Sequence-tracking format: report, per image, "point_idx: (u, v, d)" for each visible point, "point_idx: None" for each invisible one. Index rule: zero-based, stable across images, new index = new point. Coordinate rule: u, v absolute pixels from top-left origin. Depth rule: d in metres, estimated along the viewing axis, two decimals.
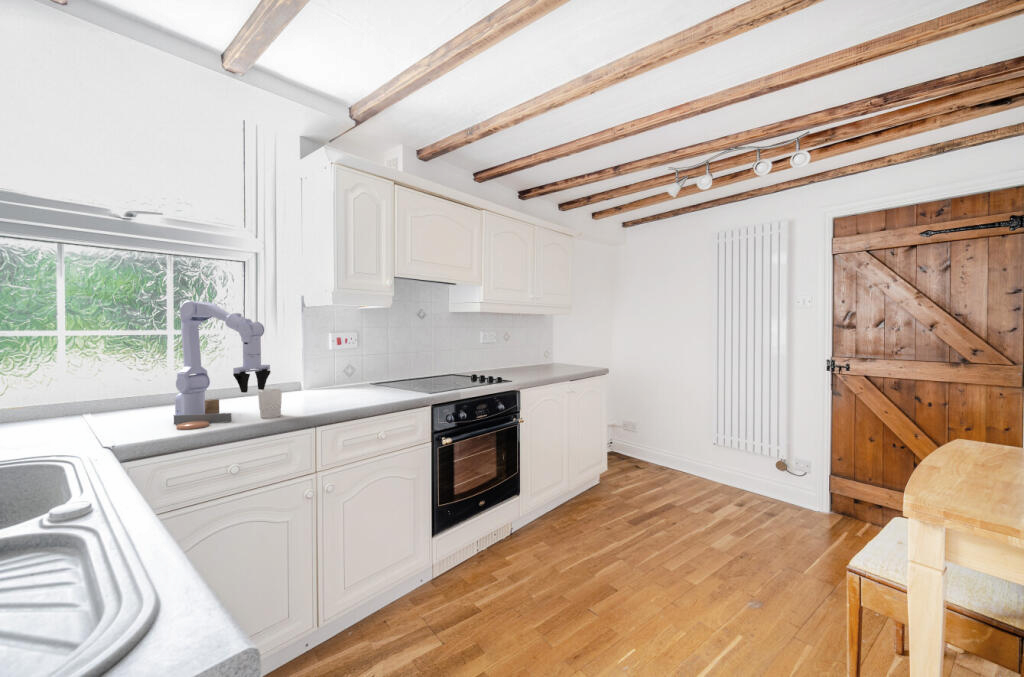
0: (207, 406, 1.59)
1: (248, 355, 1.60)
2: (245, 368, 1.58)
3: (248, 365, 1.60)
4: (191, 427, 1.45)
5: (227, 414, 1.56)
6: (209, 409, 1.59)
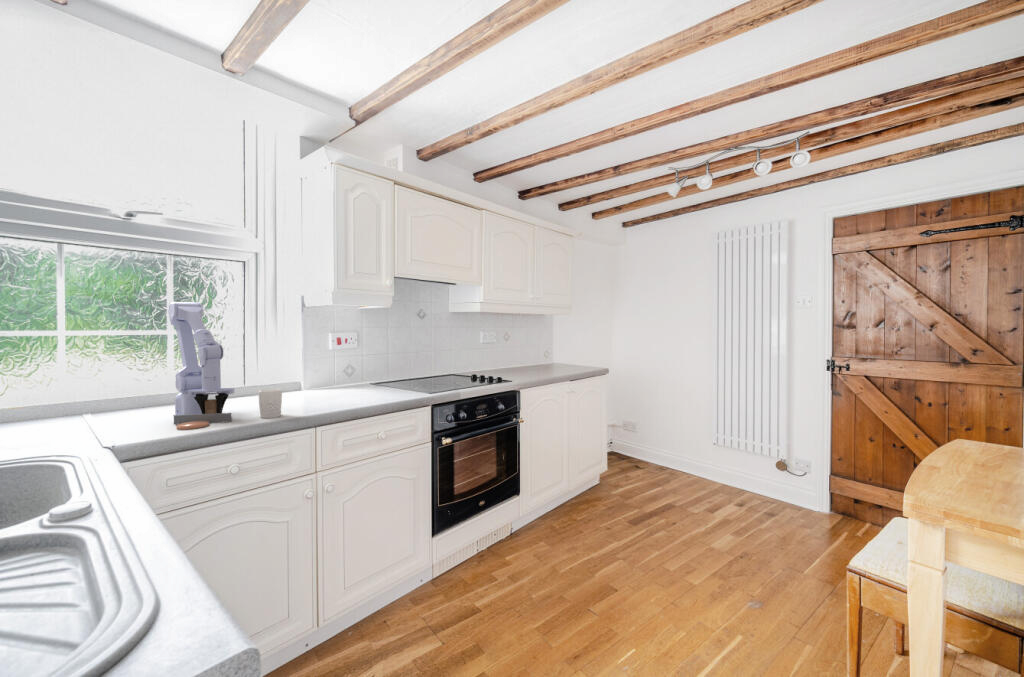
0: (207, 406, 1.59)
1: (202, 378, 1.59)
2: (195, 391, 1.59)
3: (202, 388, 1.60)
4: (191, 427, 1.45)
5: (227, 414, 1.56)
6: (209, 409, 1.59)
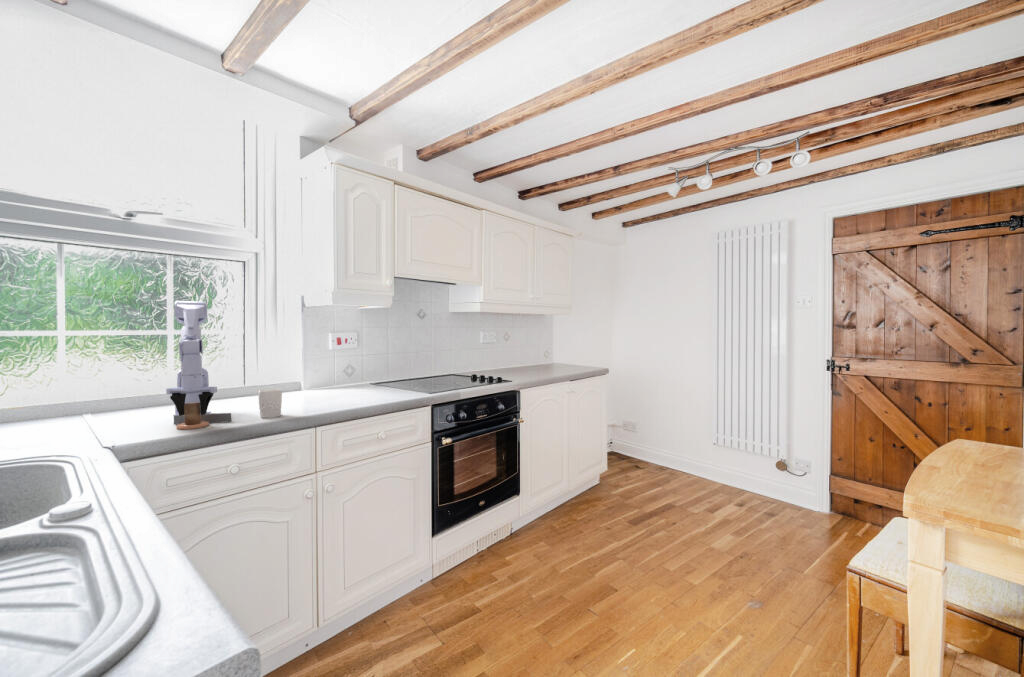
0: (187, 410, 1.46)
1: (181, 375, 1.47)
2: (174, 389, 1.46)
3: (181, 386, 1.47)
4: (191, 427, 1.45)
5: (227, 414, 1.56)
6: (189, 413, 1.46)
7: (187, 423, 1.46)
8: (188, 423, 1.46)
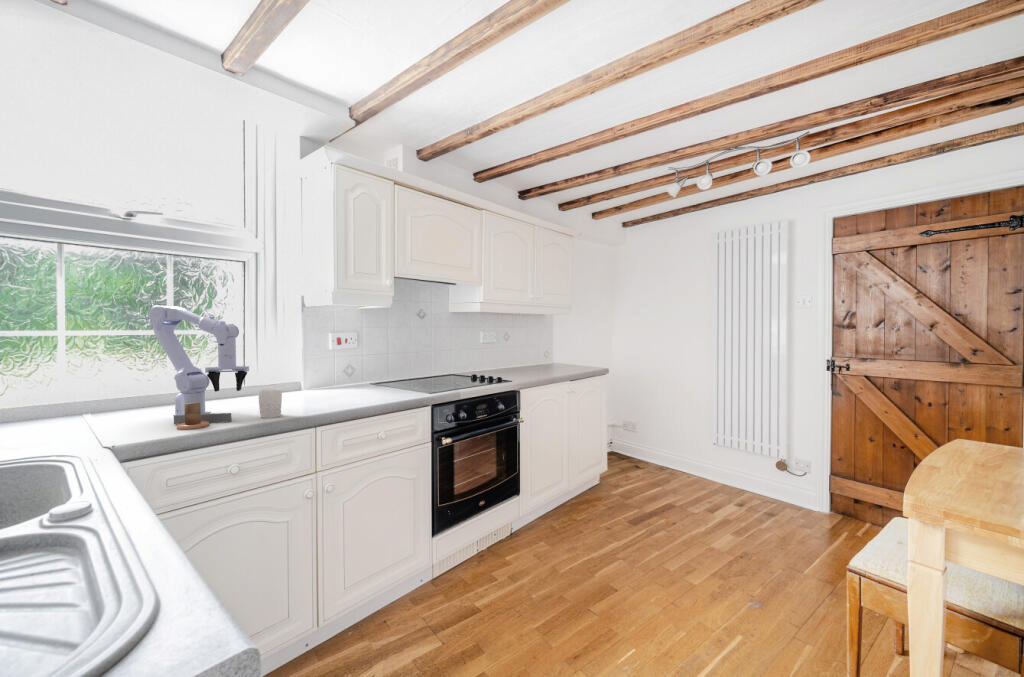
0: (187, 410, 1.46)
1: (218, 356, 1.66)
2: (212, 368, 1.65)
3: None
4: (191, 427, 1.45)
5: (227, 414, 1.56)
6: (189, 413, 1.46)
7: (187, 423, 1.46)
8: (188, 423, 1.46)
